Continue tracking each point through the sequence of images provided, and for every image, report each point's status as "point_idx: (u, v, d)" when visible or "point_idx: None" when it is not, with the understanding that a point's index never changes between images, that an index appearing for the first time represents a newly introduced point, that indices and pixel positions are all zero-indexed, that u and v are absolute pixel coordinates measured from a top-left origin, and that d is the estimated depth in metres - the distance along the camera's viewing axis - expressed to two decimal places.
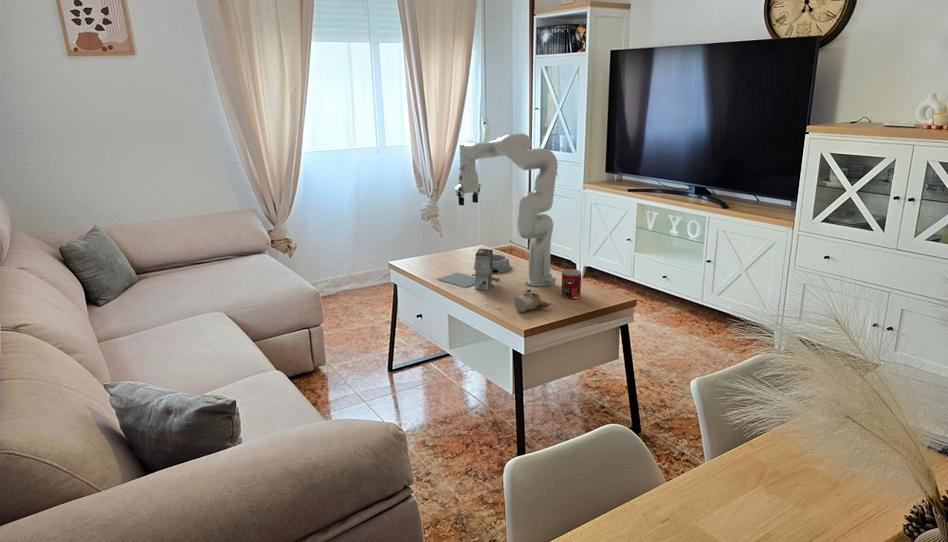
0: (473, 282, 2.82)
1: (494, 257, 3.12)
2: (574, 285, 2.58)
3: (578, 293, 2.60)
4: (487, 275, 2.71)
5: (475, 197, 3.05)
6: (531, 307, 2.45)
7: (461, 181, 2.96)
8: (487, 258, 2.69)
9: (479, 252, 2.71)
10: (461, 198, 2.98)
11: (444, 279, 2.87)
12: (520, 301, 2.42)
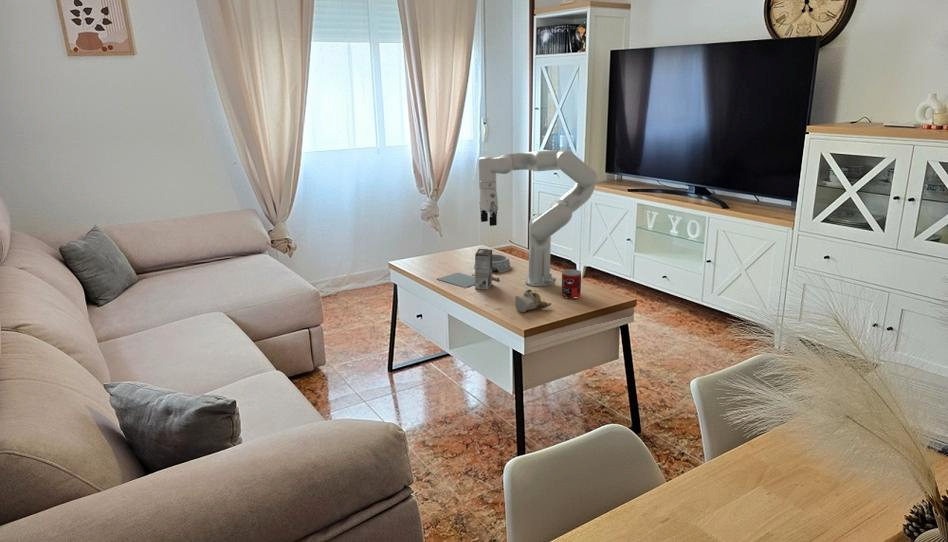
0: (473, 282, 2.82)
1: (494, 257, 3.12)
2: (574, 285, 2.58)
3: (578, 293, 2.60)
4: (487, 275, 2.71)
5: (485, 215, 2.79)
6: (531, 307, 2.45)
7: (493, 199, 2.68)
8: (487, 258, 2.69)
9: (479, 252, 2.71)
10: (495, 217, 2.70)
11: (444, 279, 2.87)
12: (521, 301, 2.42)
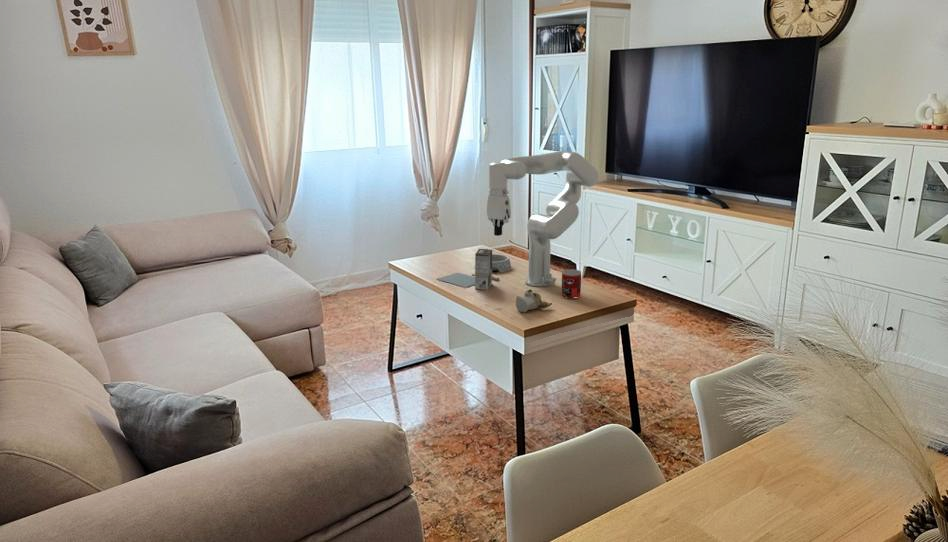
0: (473, 282, 2.82)
1: (495, 257, 3.12)
2: (574, 285, 2.58)
3: (578, 293, 2.60)
4: (487, 275, 2.71)
5: None
6: (532, 307, 2.45)
7: (507, 206, 2.58)
8: (487, 258, 2.69)
9: (479, 252, 2.71)
10: (501, 227, 2.63)
11: (444, 279, 2.87)
12: (522, 301, 2.42)
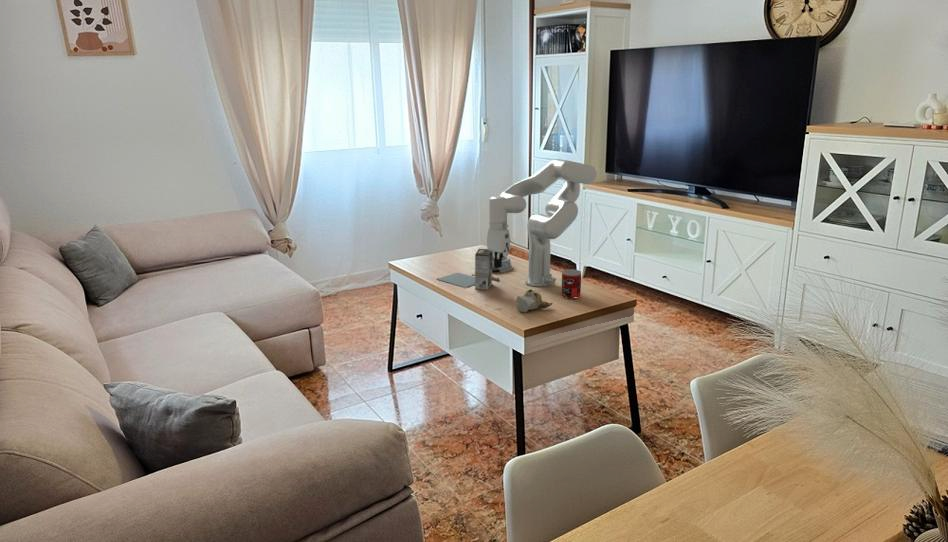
0: (473, 282, 2.82)
1: None
2: (574, 285, 2.58)
3: (578, 293, 2.60)
4: (487, 275, 2.71)
5: None
6: (533, 307, 2.45)
7: (507, 240, 2.62)
8: (487, 258, 2.69)
9: (479, 252, 2.71)
10: None
11: (444, 279, 2.87)
12: (522, 301, 2.42)
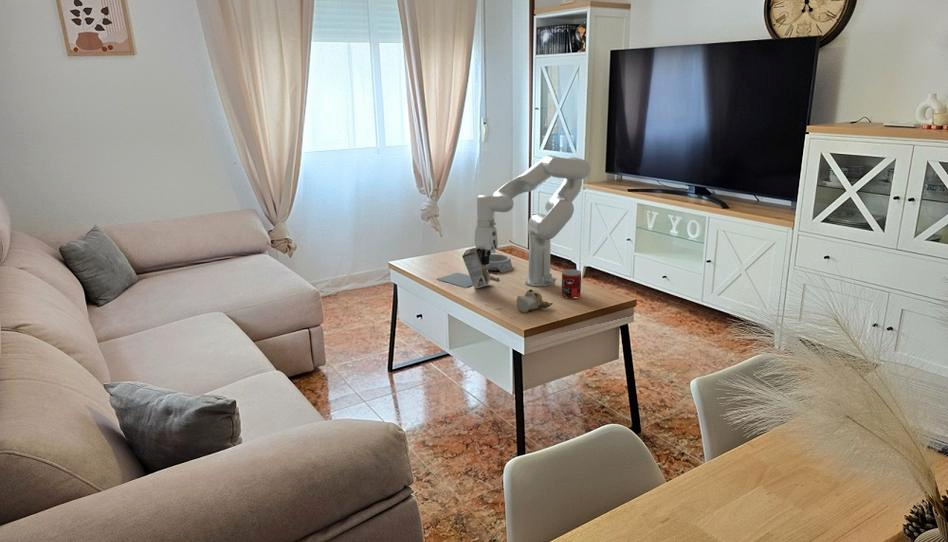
0: None
1: (496, 257, 3.12)
2: (574, 285, 2.58)
3: (578, 293, 2.60)
4: (481, 272, 2.71)
5: None
6: (533, 307, 2.45)
7: (494, 237, 2.67)
8: (474, 256, 2.69)
9: (465, 253, 2.72)
10: (488, 256, 2.72)
11: (444, 279, 2.87)
12: (523, 301, 2.42)
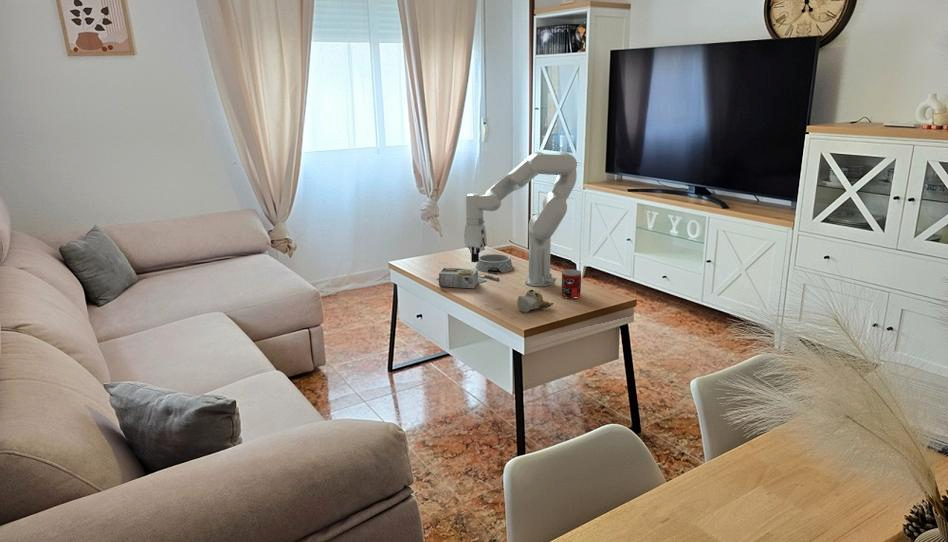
0: None
1: (496, 257, 3.12)
2: (574, 285, 2.58)
3: (578, 293, 2.60)
4: (459, 275, 2.73)
5: None
6: (534, 307, 2.45)
7: (483, 235, 2.71)
8: (442, 275, 2.75)
9: None
10: None
11: None
12: (524, 302, 2.42)
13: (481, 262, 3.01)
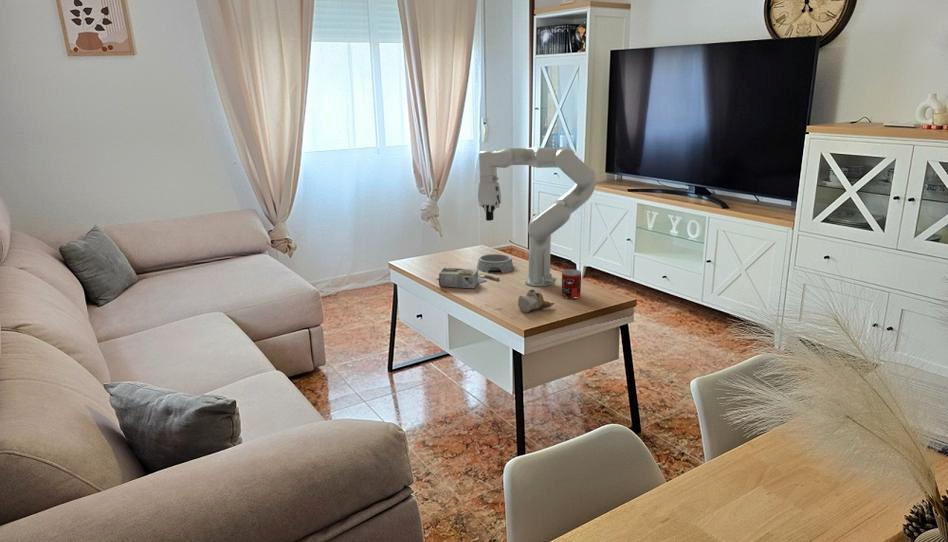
0: None
1: (497, 257, 3.12)
2: (574, 285, 2.58)
3: (578, 293, 2.60)
4: (459, 275, 2.73)
5: None
6: (535, 307, 2.45)
7: (498, 192, 2.71)
8: (442, 275, 2.75)
9: None
10: (492, 212, 2.76)
11: None
12: (525, 301, 2.42)
13: (482, 262, 3.01)
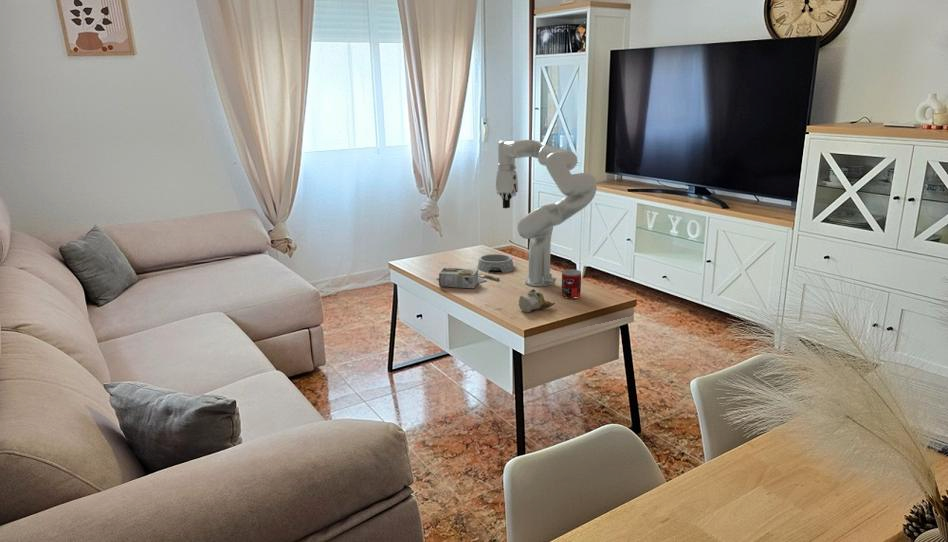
0: None
1: (498, 257, 3.12)
2: (574, 285, 2.58)
3: (578, 293, 2.60)
4: (459, 275, 2.73)
5: None
6: (536, 307, 2.45)
7: (515, 181, 2.80)
8: (442, 275, 2.75)
9: None
10: None
11: None
12: (526, 301, 2.42)
13: (482, 262, 3.01)
